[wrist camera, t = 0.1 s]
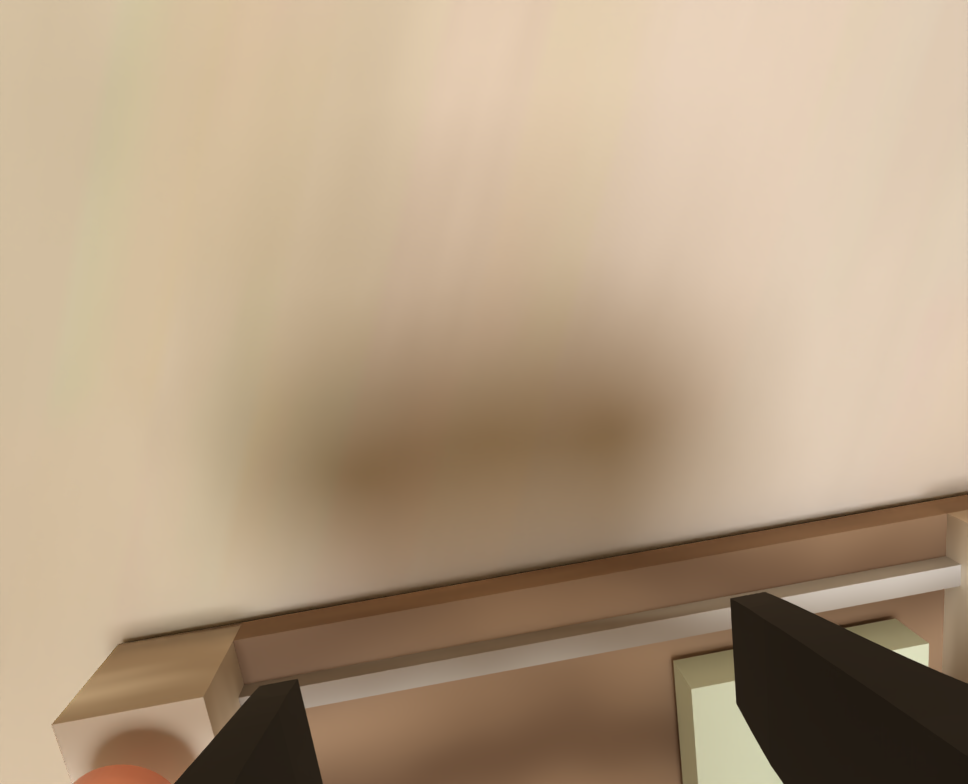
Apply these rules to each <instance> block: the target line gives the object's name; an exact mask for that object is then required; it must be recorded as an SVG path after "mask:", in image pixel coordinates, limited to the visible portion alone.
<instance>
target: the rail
mask: <svg viewBox="0 0 968 784" xmlns="http://www.w3.org/2000/svg"><path fill="white" fill-rule="evenodd" d="M761 592H767V593H769V594H772V595H774V596H777V597H779V598H781V599H784V600H786V601H788V602H790V603H792V604H795V605H797V606H799V607H801V608H803V609H805V610H807V611H810V612H812V613H814V614H816V615H818V616H820V617H822V618H824V619H826V620H828V621H830V622H833V623H835V624H837V625H839V626H841V627H843V628H848V627H853V626H858V625H864V624H869V623H874V622H879V621H885V620H890V619H897V620H898V621H899V622H901V623H902V624H903V625H905V626H906V627H908V628H909V629H910V630H912V631H913V632H914V633H916V634H917V635H918V636H920V637H921V638H922V639H924V640H925V641H926V642H928V643H929V662H928V667H930V668H932V669H934V670H937V671H939V672H941V673H944V674H946V675H948V676H951V677H953V678H956V679H958V680H960V681H963V682H965V683H968V494H967V495H962V496H956V497H950V498H944V499H939V500H933V501H927V502H922V503H916V504H910V505H905V506H899V507H893V508H888V509H882V510H876V511H871V512H865V513H859V514H854V515H848V516H842V517H837V518H831V519H825V520H820V521H814V522H808V523H803V524H797V525H791V526H786V527H780V528H774V529H769V530H763V531H757V532H752V533H746V534H740V535H735V536H729V537H723V538H718V539H712V540H706V541H701V542H695V543H689V544H684V545H678V546H672V547H667V548H661V549H655V550H650V551H644V552H638V553H633V554H627V555H621V556H616V557H610V558H604V559H599V560H593V561H587V562H582V563H576V564H570V565H565V566H559V567H553V568H548V569H542V570H536V571H530V572H525V573H519V574H513V575H508V576H502V577H496V578H491V579H485V580H479V581H474V582H468V583H462V584H457V585H451V586H445V587H440V588H434V589H428V590H423V591H417V592H411V593H406V594H400V595H394V596H389V597H383V598H377V599H372V600H366V601H360V602H355V603H349V604H343V605H338V606H332V607H326V608H321V609H315V610H309V611H304V612H298V613H292V614H287V615H281V616H275V617H270V618H264V619H258V620H253V621H247V622H241V623H236V624H230V625H224V626H219V627H213V628H207V629H202V630H196V631H190V632H185V633H179V634H173V635H168V636H162V637H156V638H151V639H145V640H139V641H133V642H128V643H122V644H118V646H117V647H116V648H115V649H114V650H113V652H112V653H111V654H110V655H109V656H108V658H107V659H106V660H105V661H104V662H103V664H102V665H101V666H100V667H99V668H98V670H97V671H96V672H95V673H94V674H93V676H92V677H91V678H90V679H89V680H88V682H87V683H86V684H85V685H84V686H83V688H82V689H81V690H80V691H79V692H78V694H77V695H76V696H75V697H74V699H73V700H72V701H71V702H70V703H69V705H68V706H67V707H66V708H65V709H64V711H63V712H62V713H61V714H60V715H59V717H58V718H57V719H56V720H55V721H54V723H53V724H52V728H53V730H54V733H55V736H56V739H57V742H58V745H59V748H60V751H61V754H62V757H63V759H64V762H65V765H66V768H67V771H68V774H69V777H70V780H71V783H72V784H73V783H74V782H75V781H76V780H77V779H79V778H80V777H81V776H83V775H84V774H86V773H88V772H90V771H92V770H95V769H97V768H100V767H105V766H110V765H123V764H124V765H134V766H139V767H143V768H146V769H149V770H151V771H154V772H156V773H158V774H159V775H161V776H163V777H164V778H165V779H167V780H168V781H169V782H170V783H171V784H174V783H175V782H176V781H177V780H178V778H179V777H180V776H181V775H182V774H183V773H184V772H185V770H186V769H187V768H188V767H189V766H190V765H191V764H192V762H193V761H194V760H195V759H196V758H197V757H198V756H199V755H200V753H201V752H202V751H203V750H204V749H205V748H206V747H207V745H208V744H209V743H210V742H211V741H212V740H213V738H214V737H215V736H216V735H217V734H218V733H219V731H220V730H221V729H222V728H223V727H224V726H225V724H226V723H227V722H228V721H229V720H230V719H231V717H232V716H233V715H234V714H235V713H236V712H237V710H238V709H239V708H240V707H241V706H242V705H243V704H244V702H245V701H246V700H247V699H248V698H249V697H250V696H251V695H252V694H253V692H254V691H255V690H256V689H257V688H258V687H259V686H262V685H267V684H272V683H278V682H283V681H288V680H294V679H298V681H299V685H300V689H301V694H302V698H303V702H304V706H305V710H306V715H307V719H308V723H309V727H310V731H311V736H312V740H313V744H314V748H315V752H316V757H317V761H318V765H319V769H320V773H321V778H322V782H323V784H683V779H682V766H681V754H680V741H679V728H678V716H677V703H676V690H675V678H674V665H673V660H679V659H684V658H689V657H694V656H700V655H705V654H710V653H716V652H721V651H726V650H731V649H733V641H732V623H731V606H730V598H734V597H740V596H745V595H750V594H756V593H761Z"/></svg>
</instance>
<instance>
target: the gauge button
mask: <svg viewBox="0 0 968 784" xmlns="http://www.w3.org/2000/svg"><path fill="white" fill-rule="evenodd" d="M73 784H171V783H170V782H169V781H168V780H167V779H165V778H164V777H163V776H161V775H159V774H158V773H156V772H154V771H151V770H149V769H146V768H143V767H139V766H134V765H124V764H123V765H110V766H105V767H100V768H97V769H95V770H92V771H90V772H88V773H86V774H84V775H83V776H81V777H80V778H79V779H77V780H76V781H75V782H74V783H73Z"/></svg>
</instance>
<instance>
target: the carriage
mask: <svg viewBox="0 0 968 784" xmlns="http://www.w3.org/2000/svg"><path fill="white" fill-rule="evenodd" d="M845 629H847V630H849V631H851V632H854V633H856V634H858V635H860V636H862V637H864V638H866V639H868V640H870V641H873V642H875V643H877V644H879V645H881V646H883V647H885V648H888V649H890V650H892V651H894V652H896V653H899V654H901V655H903V656H905V657H907V658H910V659H912V660H914V661H916V662H919V663H921V664H923V665H925V666H928V662H929V643H928V642H926V641H925V640H924V639H922V638H921V637H920V636H918V635H917V634H916V633H914V632H913V631H912V630H910V629H909V628H908V627H906V626H905V625H903V624H902V623H901V622H899V621H898V620H897V619H890V620H885V621H879V622H874V623H869V624H864V625H858V626H853V627H848V628H845ZM673 665H674V678H675V690H676V703H677V716H678V728H679V741H680V754H681V766H682V779H683V784H783V782H782V781H781V780H780V778H779V777H778V775H777V774H776V772H775V771H774V769H773V768H772V767H771V765H770V763H769V762H768V760H767V758H766V756H765V755H764V753H763V751H762V749H761V748H760V746H759V744H758V743H757V741H756V739H755V737H754V735H753V734H752V732H751V730H750V728H749V726H748V724H747V723H746V721H745V719H744V717H743V715H742V713H741V711H740V710H739V708H738V706H737V704H736V692H735V675H734V658H733V649H731V650H726V651H721V652H716V653H710V654H705V655H700V656H694V657H689V658H684V659H679V660H673Z"/></svg>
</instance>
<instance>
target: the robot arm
mask: <svg viewBox="0 0 968 784" xmlns="http://www.w3.org/2000/svg"><path fill="white" fill-rule="evenodd" d="M730 606H731V623H732V641H733V658H734V675H735V692H736V704H737V706H738V708H739V710H740V711H741V713H742V715H743V717H744V719H745V721H746V723H747V724H748V726H749V728H750V730H751V732H752V734H753V735H754V737H755V739H756V741H757V743H758V744H759V746H760V748H761V749H762V751H763V753H764V755H765V756H766V758H767V760H768V762H769V763H770V765H771V767H772V768H773V769H774V771H775V772H776V774H777V775H778V777H779V778H780V780H781V781H782V782H783V784H968V683H965V682H963V681H960V680H958V679H956V678H953V677H951V676H948V675H946V674H944V673H941V672H939V671H937V670H934V669H932V668H930V667H928V666H925V665H923V664H921V663H919V662H916V661H914V660H912V659H910V658H907V657H905V656H903V655H901V654H899V653H896V652H894V651H892V650H890V649H888V648H885V647H883V646H881V645H879V644H877V643H875V642H873V641H870V640H868V639H866V638H864V637H862V636H860V635H858V634H856V633H854V632H851V631H849V630H847V629H845V628H843V627H841V626H839V625H837V624H835V623H833V622H830V621H828V620H826V619H824V618H822V617H820V616H818V615H816V614H814V613H812V612H810V611H807V610H805V609H803V608H801V607H799V606H797V605H795V604H792V603H790V602H788V601H786V600H784V599H781V598H779V597H777V596H774V595H772V594H769V593H767V592H761V593H756V594H750V595H745V596H740V597H734V598H730ZM174 784H323V782H322V778H321V773H320V769H319V765H318V761H317V757H316V752H315V748H314V744H313V740H312V736H311V731H310V727H309V723H308V719H307V715H306V710H305V706H304V702H303V698H302V694H301V689H300V685H299V681H298V679H294V680H288V681H283V682H278V683H272V684H267V685H262V686H259V687H258V688H257V689H256V690H255V691H254V692H253V694H252V695H251V696H250V697H249V698H248V699H247V700H246V701H245V702H244V704H243V705H242V706H241V707H240V708H239V709H238V710H237V712H236V713H235V714H234V715H233V716H232V717H231V719H230V720H229V721H228V722H227V723H226V724H225V726H224V727H223V728H222V729H221V730H220V731H219V733H218V734H217V735H216V736H215V737H214V738H213V740H212V741H211V742H210V743H209V744H208V745H207V747H206V748H205V749H204V750H203V751H202V752H201V753H200V755H199V756H198V757H197V758H196V759H195V760H194V761H193V762H192V764H191V765H190V766H189V767H188V768H187V769H186V770H185V772H184V773H183V774H182V775H181V776H180V777H179V778H178V780H177V781H176V782H175V783H174Z"/></svg>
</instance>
